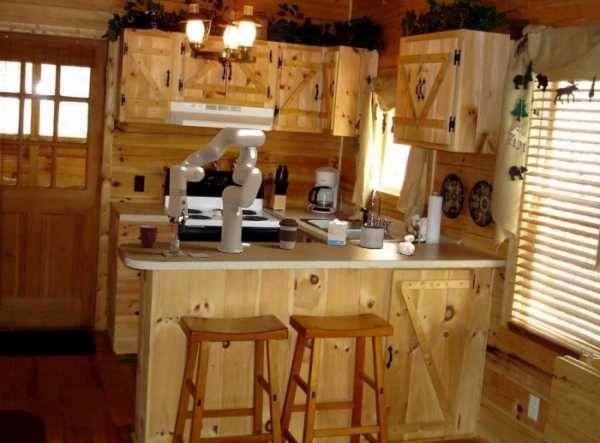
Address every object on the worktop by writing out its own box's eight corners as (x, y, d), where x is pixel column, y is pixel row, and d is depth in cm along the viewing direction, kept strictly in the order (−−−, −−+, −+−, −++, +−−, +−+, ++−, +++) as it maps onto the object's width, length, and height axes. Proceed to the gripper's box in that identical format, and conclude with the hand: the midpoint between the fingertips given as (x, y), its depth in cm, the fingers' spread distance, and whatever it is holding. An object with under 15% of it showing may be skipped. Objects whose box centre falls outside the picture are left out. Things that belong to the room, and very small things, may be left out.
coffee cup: (274, 248, 414) (276, 219, 412) (281, 245, 424) (283, 217, 422) (292, 250, 411) (294, 221, 409) (299, 248, 420) (301, 219, 418)
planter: (376, 250, 433) (378, 229, 431) (355, 246, 439) (357, 226, 437) (386, 247, 444) (388, 227, 442) (365, 244, 450) (367, 224, 448)
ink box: (342, 246, 438) (344, 221, 436) (326, 244, 440) (328, 219, 438) (345, 244, 446) (347, 219, 444) (330, 242, 448) (332, 218, 447)
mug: (158, 249, 386) (159, 228, 385) (141, 249, 384) (142, 228, 382) (155, 245, 396) (156, 225, 395) (138, 245, 393) (139, 225, 392)
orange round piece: (187, 232, 375) (187, 222, 374) (174, 233, 370) (174, 223, 370) (179, 230, 380) (179, 220, 379) (166, 231, 375) (166, 220, 375)
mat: (204, 254, 383) (204, 253, 383) (210, 257, 376) (210, 256, 376) (188, 254, 380) (188, 253, 380) (193, 257, 373) (193, 256, 373)
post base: (181, 252, 383) (182, 238, 382) (188, 256, 374) (188, 241, 373) (160, 253, 378) (161, 238, 377) (166, 257, 369) (167, 241, 368)
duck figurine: (413, 260, 422) (425, 243, 424) (405, 252, 418) (417, 234, 421) (399, 256, 432) (410, 239, 434) (390, 248, 428) (402, 231, 431)
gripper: (195, 194, 368) (194, 233, 371) (174, 190, 381) (173, 227, 384) (181, 195, 363) (180, 235, 366) (160, 190, 376) (159, 229, 379)
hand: (176, 231), depth 375 cm, fingers closed on orange round piece, 6 cm apart
